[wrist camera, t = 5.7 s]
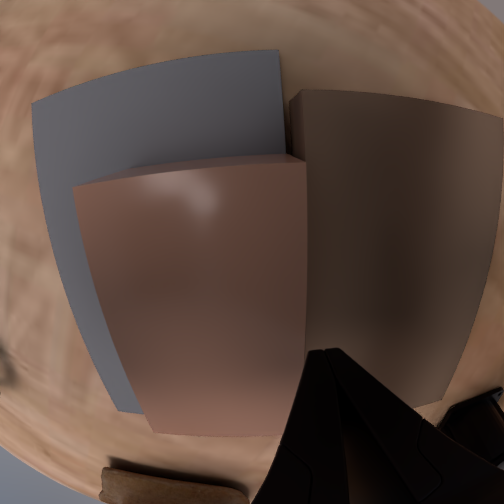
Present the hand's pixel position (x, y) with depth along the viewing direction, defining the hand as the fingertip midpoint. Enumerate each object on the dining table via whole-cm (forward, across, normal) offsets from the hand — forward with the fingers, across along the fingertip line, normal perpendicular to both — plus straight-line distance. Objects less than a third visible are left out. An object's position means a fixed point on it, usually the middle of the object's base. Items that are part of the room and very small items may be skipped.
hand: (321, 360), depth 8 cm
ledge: (+6, -4, 0) cm, 7 cm away
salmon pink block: (+3, 0, 0) cm, 3 cm away
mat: (+6, +6, 0) cm, 8 cm away
